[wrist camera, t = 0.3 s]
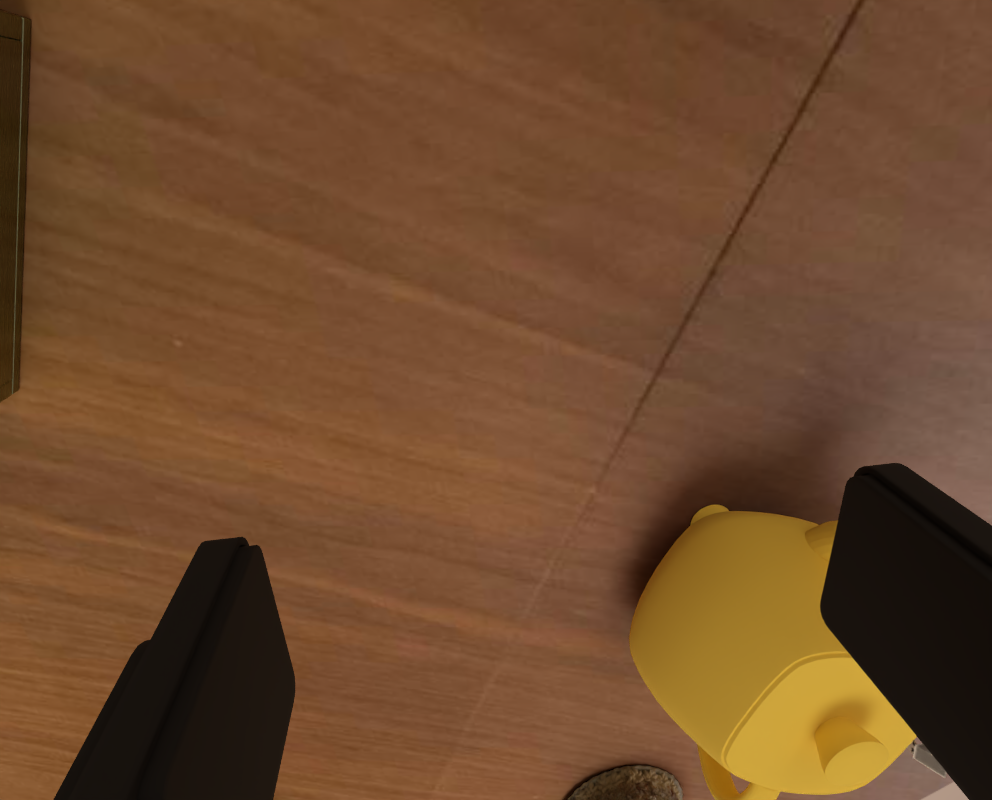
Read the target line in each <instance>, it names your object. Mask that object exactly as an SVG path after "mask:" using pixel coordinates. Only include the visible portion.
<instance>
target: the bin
mask: <svg viewBox="0 0 992 800" xmlns="http://www.w3.org/2000/svg"><path fill="white" fill-rule="evenodd" d="M30 30H31V20H30V19H28V18H25V17H22V16H19V15H16V14H13V13H10V12H7V11H5V10H2V9H0V402H2V401H3V400H5V399H6V398H8V397H9V396H11V395H12V394H14V393H15V392H17V391H18V390H19V362H20V332H21V301H22V271H23V241H24V211H25V181H26V151H27V120H28V90H29V60H30Z"/></svg>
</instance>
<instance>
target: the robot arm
mask: <svg viewBox="0 0 992 800" xmlns="http://www.w3.org/2000/svg"><path fill="white" fill-rule="evenodd" d="M820 612H821V615H822V618H823V620H824V623H825V624H826V626H827V627H828V629H829V630H830V631H831V632H832V633H833V635H834V636H835V637H836V638H837V640H838V641H839V642H840V643H841V644H842V646H843V647H844V648H845V649H846V650H847V652H848V653H849V654H850V655H851V657H852V658H853V659H854V660H855V661H856V663H857V664H858V665H859V666H860V668H861V669H862V670H863V671H864V672H865V674H866V675H867V676H868V677H869V678H870V680H871V681H872V682H873V683H874V685H875V686H876V687H877V688H878V689H879V691H880V692H881V693H882V694H883V695H884V697H885V698H886V699H887V700H888V702H889V703H890V704H891V705H892V706H893V708H894V709H895V710H896V711H897V713H898V714H899V715H900V716H901V717H902V719H903V720H904V721H905V722H906V723H907V725H908V726H909V727H910V728H911V730H912V731H913V732H914V733H915V734H916V736H917V737H918V738H919V739H920V741H921V742H922V743H923V744H924V745H925V747H926V748H927V749H928V750H929V751H930V753H931V754H932V755H933V756H934V758H935V759H936V760H937V761H938V762H939V764H940V765H941V766H942V767H943V768H944V770H945V771H946V772H947V773H948V775H949V776H950V777H951V778H952V779H953V781H954V782H955V783H956V784H957V786H958V787H959V788H960V789H961V790H962V791H963V793H964V794H965V795H966V796H967V798H968V799H969V800H992V526H991V525H990V524H989V523H987V522H986V521H984V520H983V519H981V518H980V517H978V516H977V515H976V514H974V513H973V512H971V511H970V510H968V509H967V508H965V507H964V506H963V505H961V504H960V503H958V502H957V501H955V500H954V499H953V498H951V497H950V496H948V495H947V494H945V493H944V492H942V491H941V490H940V489H938V488H937V487H935V486H934V485H932V484H931V483H929V482H928V481H927V480H925V479H924V478H922V477H921V476H919V475H918V474H916V473H915V472H914V471H912V470H911V469H909V468H908V467H906V466H904V465H902V464H900V463H891V464H882V465H873V466H864V467H861V468H859V469H858V470H857V471H856V472H855V474H854V477H852V478H850V479H849V480H848V481H847V483H846V486H845V491H844V495H843V500H842V505H841V509H840V514H839V518H838V523H837V528H836V532H835V537H834V541H833V546H832V550H831V555H830V560H829V564H828V569H827V573H826V578H825V582H824V587H823V592H822V596H821V601H820ZM294 697H295V676H294V671H293V667H292V663H291V660H290V656H289V652H288V648H287V644H286V641H285V637H284V633H283V629H282V625H281V622H280V618H279V614H278V610H277V606H276V603H275V599H274V595H273V591H272V587H271V583H270V580H269V576H268V572H267V568H266V564H265V561H264V557H263V553H262V550H261V548H260V547H259V546H258V545H253V546H249V544H248V542H247V540H246V539H245V538H243V537H237V538H228V539H220V540H211V541H204V542H202V543H201V544H200V546H199V547H198V549H197V551H196V553H195V555H194V557H193V559H192V561H191V563H190V565H189V567H188V568H187V570H186V572H185V574H184V576H183V578H182V580H181V582H180V584H179V586H178V588H177V590H176V592H175V594H174V596H173V598H172V599H171V601H170V603H169V605H168V607H167V609H166V611H165V613H164V615H163V617H162V619H161V621H160V623H159V625H158V627H157V628H156V630H155V632H154V634H153V636H152V638H151V640H147V641H144V642H143V643H141V644H140V645H138V646H137V648H136V649H135V651H134V652H133V653H132V655H131V657H130V658H129V660H128V662H127V664H126V666H125V668H124V670H123V671H122V673H121V675H120V677H119V679H118V681H117V683H116V684H115V686H114V688H113V690H112V692H111V694H110V696H109V697H108V699H107V701H106V703H105V705H104V707H103V709H102V710H101V712H100V714H99V716H98V718H97V720H96V722H95V724H94V725H93V727H92V729H91V731H90V733H89V735H88V737H87V738H86V740H85V742H84V744H83V746H82V748H81V750H80V751H79V753H78V755H77V757H76V759H75V761H74V763H73V764H72V766H71V768H70V770H69V772H68V774H67V776H66V777H65V779H64V781H63V783H62V785H61V787H60V789H59V790H58V792H57V794H56V796H55V798H54V800H273V797H274V792H275V788H276V783H277V778H278V773H279V769H280V764H281V759H282V755H283V750H284V745H285V740H286V736H287V731H288V726H289V722H290V717H291V712H292V708H293V703H294Z"/></svg>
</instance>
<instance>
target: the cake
mask: <svg viewBox="0 0 992 800" xmlns="http://www.w3.org/2000/svg"><path fill="white" fill-rule="evenodd" d="M682 798H683V793H682V788H681V786H680V785H679V782H678V781H677V780H676V779H674V776H673V775H671V774H668V773H667V771H663V770H662V769H661V770H660V769H659V768H655V767H651V766H642V765H641V766H640V765H637V766H636V765H635V766H634V765H633V766H631V767H630V766H622V767H621V768H614V770H611V771H609V772H603V773H602V774H600V775H598V776H596V777H593V778H591V779H590V780H589V781H588V782H585V783H583V785H582V786H581V787H579V788H577V789H576V790H575V791H574V793H573V794H572V796H571V797H569V798H568V800H683V799H682Z"/></svg>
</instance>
